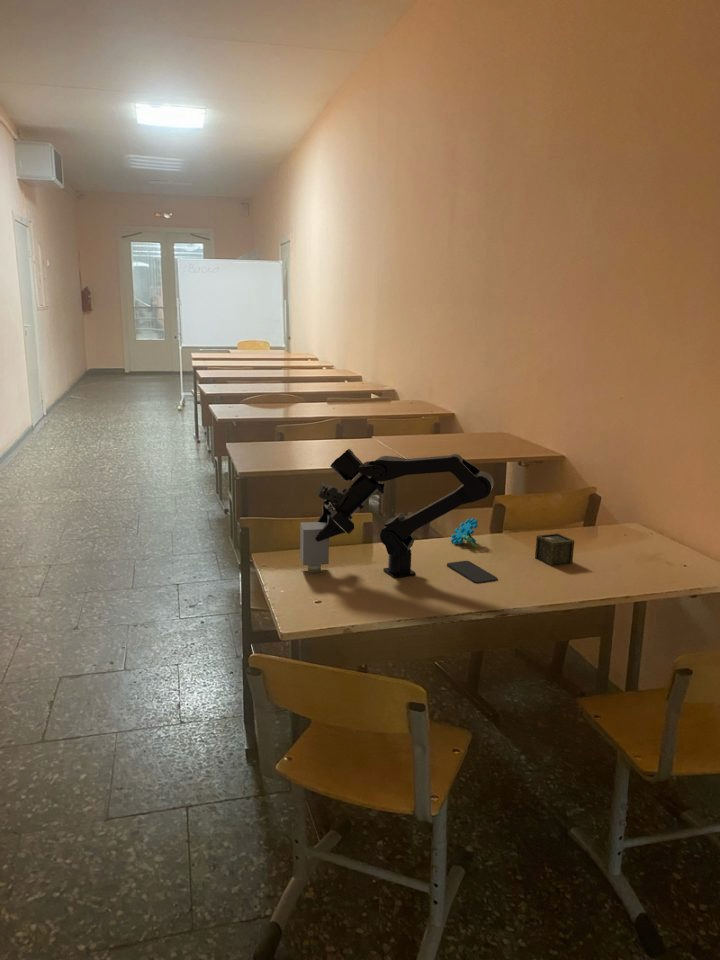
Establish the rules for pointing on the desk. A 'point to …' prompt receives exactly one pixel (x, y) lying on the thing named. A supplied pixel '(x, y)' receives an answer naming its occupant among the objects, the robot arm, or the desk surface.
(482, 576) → the phone
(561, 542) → the wooden crate
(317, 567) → the grey-green round piece
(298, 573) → the desk surface
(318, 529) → the grey rectangular block
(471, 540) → the blue green lobed piece
